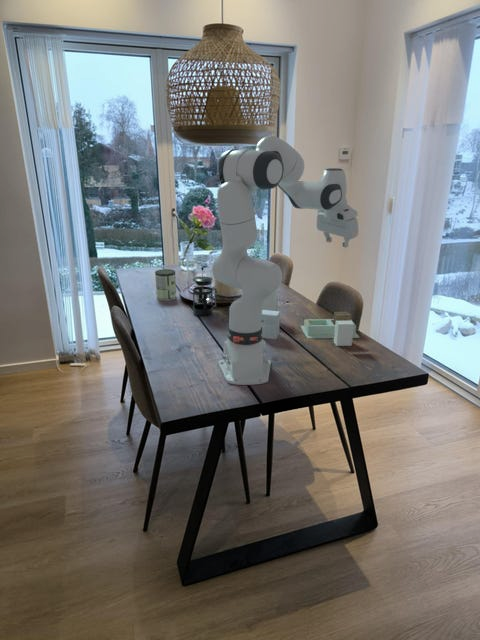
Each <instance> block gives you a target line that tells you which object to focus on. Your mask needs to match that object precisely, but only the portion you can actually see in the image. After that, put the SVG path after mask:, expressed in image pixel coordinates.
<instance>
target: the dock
mask: <svg viewBox="0 0 480 640" xmlns="http://www.w3.org/2000/svg"><path fill="white" fill-rule="evenodd" d="M333 320H334V318H332V319H331V318H327V319H325V318H322V319H321V318H318V319H317V318H316V319H315V318H313V319H312V318H311V319H304V321H303V325H300V329H301V330H302V331H303V333H304V336H305V337H306V339H334V334H335V325H334V324H333ZM350 321H352V323H353V324H354V328H353V337H352V339H354V338H356V339H357V338H358V339H359V338H360V337H361V336H359V334H358V333H357V325H356V323H355V322H354V321H353V320H352V319H351V320H350Z"/></svg>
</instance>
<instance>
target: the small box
mask: <svg viewBox="0 0 480 640" xmlns="http://www.w3.org/2000/svg"><path fill="white" fill-rule="evenodd" d="M280 318H281V311H279V310H277V311H270V310H262V319H261V327H262V331H263V334H262V339H269V340H277V339H278V337H279V335H280V322H281V321H280Z"/></svg>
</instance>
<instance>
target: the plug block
mask: <svg viewBox="0 0 480 640" xmlns="http://www.w3.org/2000/svg"><path fill="white" fill-rule="evenodd" d="M352 321H353V320H352ZM352 321H336V323H335V334H334V338H333V343H334V345H335V346H337V347H344V346H345V347H347V346H349V347H351V346H352V344H353V338H352V337H353V328H354V324H355V323H354V322H353V323H354V324H353V323H352Z"/></svg>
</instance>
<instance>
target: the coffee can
mask: <svg viewBox="0 0 480 640" xmlns="http://www.w3.org/2000/svg"><path fill="white" fill-rule="evenodd" d="M154 275H155V288H156V299H157V300H158V301H165V302H167V301H173V300H175V299H177V285H176V281H177V280H176V270H174V269H169V268H165V269H157V270H156V271H155V272H154Z"/></svg>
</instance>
